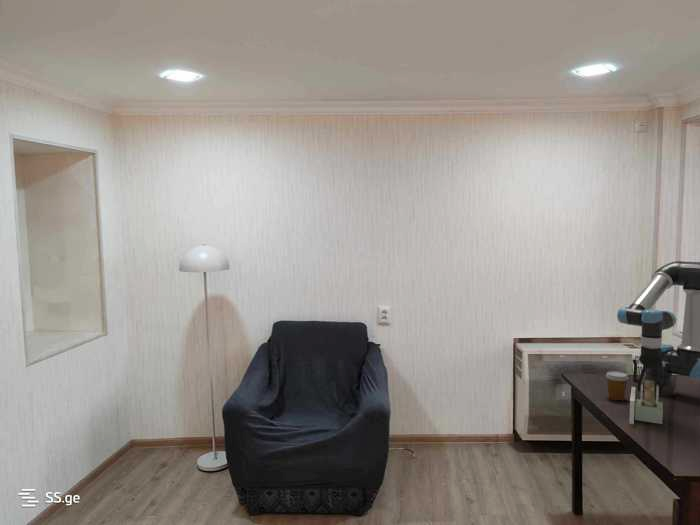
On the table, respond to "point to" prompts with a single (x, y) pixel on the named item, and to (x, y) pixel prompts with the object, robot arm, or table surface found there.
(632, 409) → the pale wall board
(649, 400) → the birch dowel
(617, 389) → the disposable coffee cup
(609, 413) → the table surface
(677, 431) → the table surface
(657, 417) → the sage green block
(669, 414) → the table surface
